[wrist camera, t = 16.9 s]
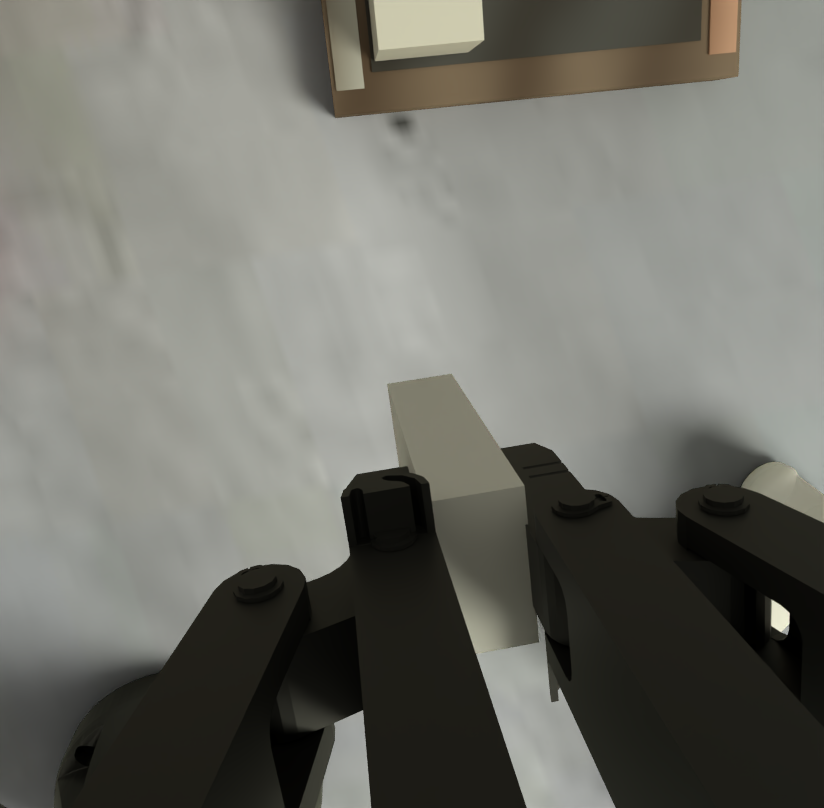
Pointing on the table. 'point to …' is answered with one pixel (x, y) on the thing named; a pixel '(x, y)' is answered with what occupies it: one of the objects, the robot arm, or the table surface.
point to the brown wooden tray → (536, 53)
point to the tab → (424, 27)
